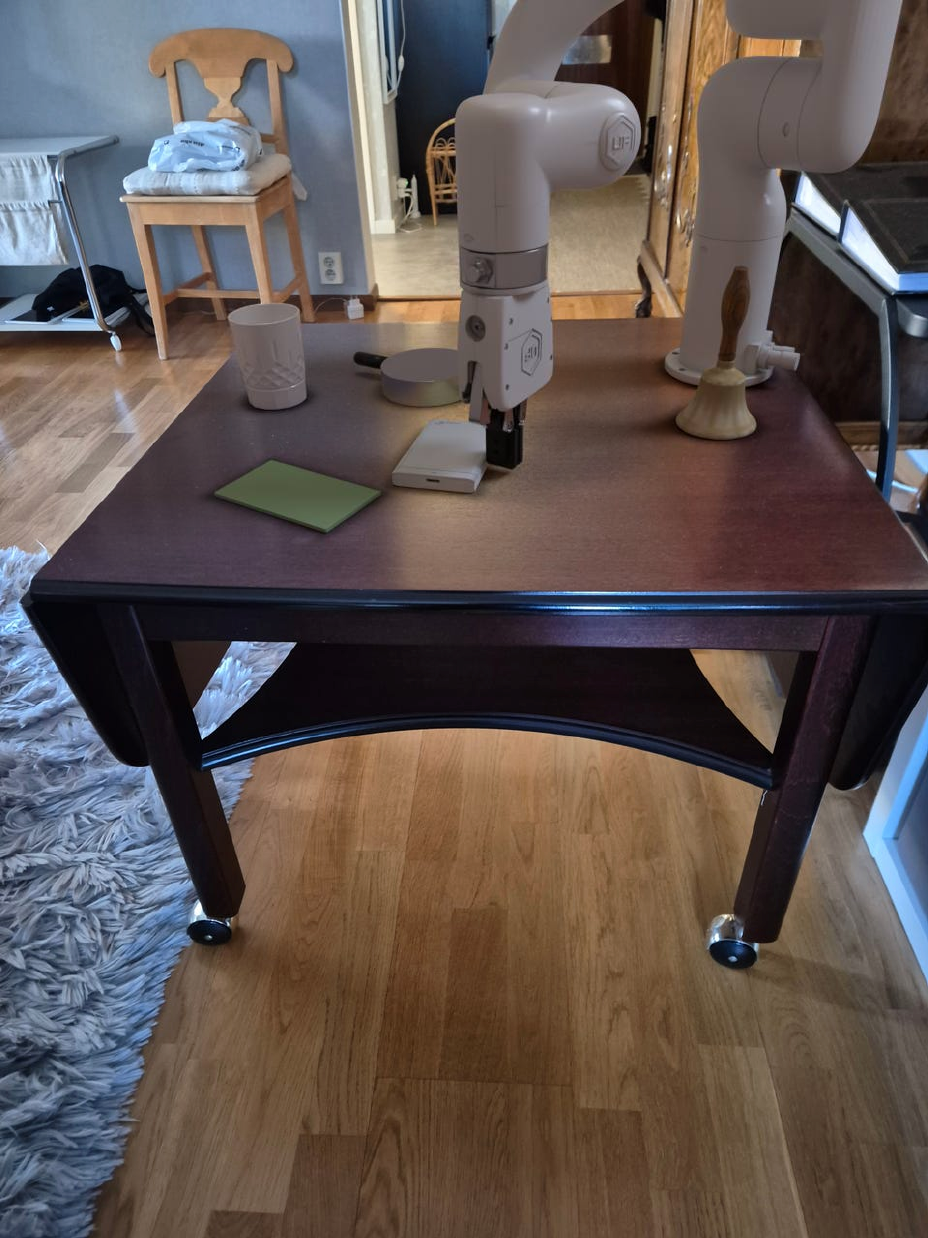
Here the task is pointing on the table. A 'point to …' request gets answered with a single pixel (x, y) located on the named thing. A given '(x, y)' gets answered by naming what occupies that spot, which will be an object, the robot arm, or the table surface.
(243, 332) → the white cup
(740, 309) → the hand bell
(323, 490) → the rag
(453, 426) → the hard drive
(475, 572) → the table surface
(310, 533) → the table surface
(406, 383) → the pan
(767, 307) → the robot arm
